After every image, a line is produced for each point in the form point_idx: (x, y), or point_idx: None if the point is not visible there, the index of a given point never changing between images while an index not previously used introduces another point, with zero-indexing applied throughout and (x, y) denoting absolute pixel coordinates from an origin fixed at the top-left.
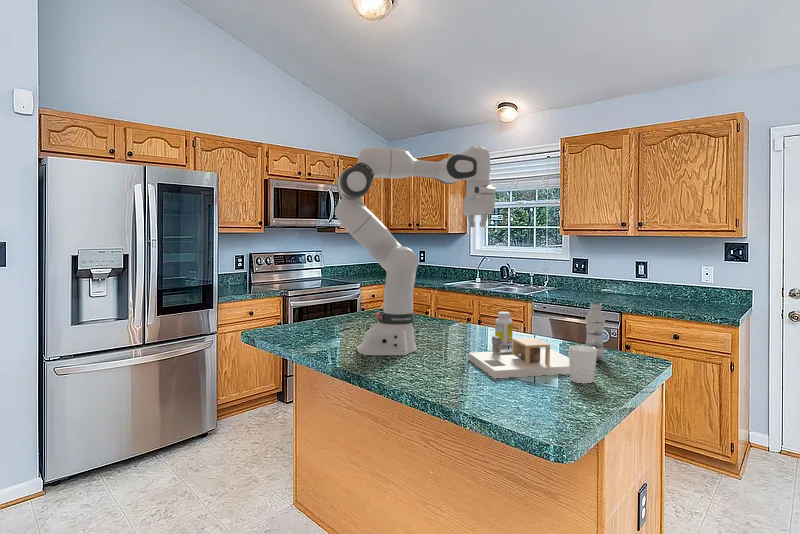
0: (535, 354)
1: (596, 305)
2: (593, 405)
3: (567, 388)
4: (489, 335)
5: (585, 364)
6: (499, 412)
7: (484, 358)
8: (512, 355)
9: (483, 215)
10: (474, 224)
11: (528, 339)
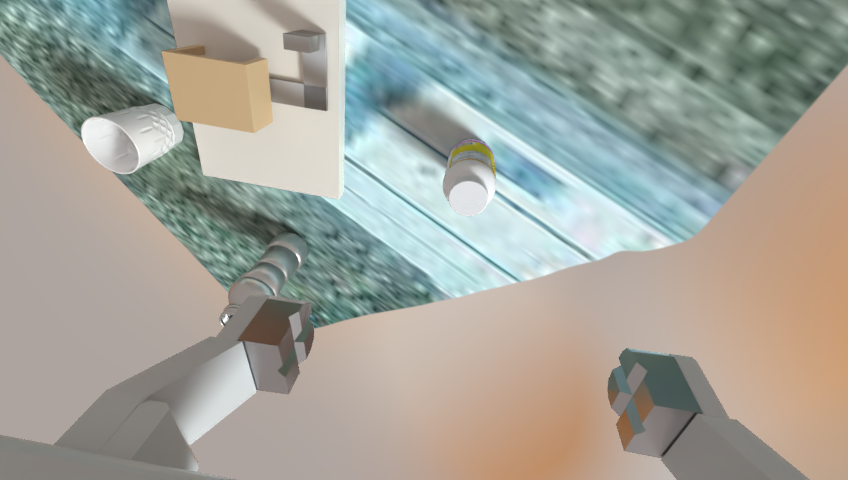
0: None
1: (221, 314)
2: (23, 41)
3: (113, 63)
4: (583, 188)
5: (107, 124)
6: None
7: None
8: (291, 72)
9: (81, 437)
10: (620, 420)
11: (232, 102)
